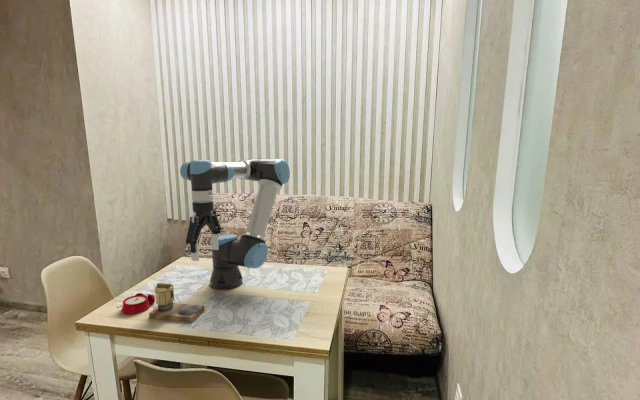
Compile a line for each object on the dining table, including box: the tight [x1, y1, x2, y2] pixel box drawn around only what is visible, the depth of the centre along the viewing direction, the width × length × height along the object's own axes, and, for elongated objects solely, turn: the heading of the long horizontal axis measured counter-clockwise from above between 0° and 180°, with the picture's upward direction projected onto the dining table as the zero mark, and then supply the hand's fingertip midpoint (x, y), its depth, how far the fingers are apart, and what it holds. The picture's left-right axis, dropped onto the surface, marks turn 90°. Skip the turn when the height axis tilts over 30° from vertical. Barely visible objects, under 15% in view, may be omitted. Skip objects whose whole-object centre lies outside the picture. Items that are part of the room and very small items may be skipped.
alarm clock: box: [116, 292, 156, 316], centre depth 152 cm, size 10×6×15 cm
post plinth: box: [148, 301, 206, 323], centre depth 146 cm, size 18×10×10 cm, turn 79°
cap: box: [154, 282, 175, 306], centre depth 146 cm, size 7×7×7 cm
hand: (205, 254), depth 143 cm, fingers open, 13 cm apart
